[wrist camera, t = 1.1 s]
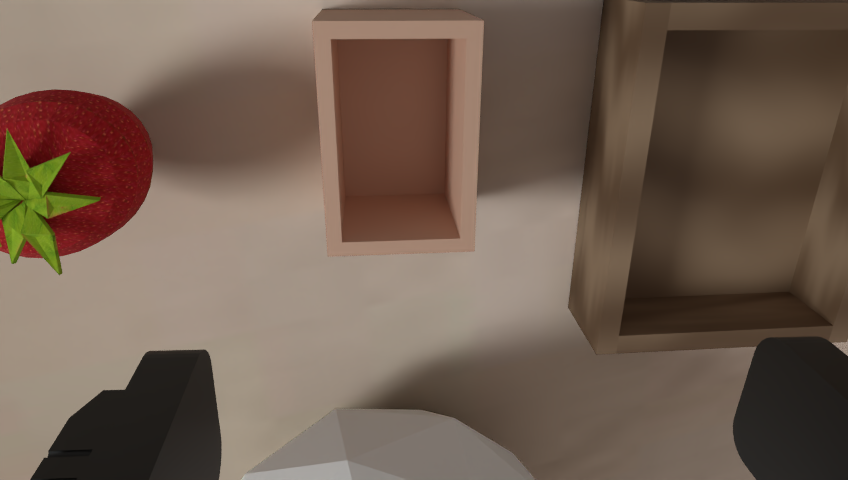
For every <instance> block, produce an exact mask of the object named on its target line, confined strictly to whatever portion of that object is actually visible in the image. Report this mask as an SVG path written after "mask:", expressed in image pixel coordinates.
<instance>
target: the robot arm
mask: <svg viewBox="0 0 848 480" xmlns="http://www.w3.org/2000/svg"><path fill="white" fill-rule="evenodd" d="M733 435H734V441H735V445H736V448H737V451H738V453H739V456H740V457H741V459H742V461H743V462H744V464H745V465H746V467H747V468H748V469H749V471H750V472H751V473H752V475H753V476H754V477H755V478H756V480H848V356H847V355H846V354H844V353H843V352H842V351H841V350H839V349H838V348H837V347H836V346H835V345H833V344H832V343H831V342H830V341H828V340H827V339H825V338H822V337H818V336H808V337H769V338H766V339H764V340H762V341H761V342H760V343H759V344H758V346H757V348H756V350H755V352H754V356H753V359H752V362H751V365H750V368H749V372H748V375H747V378H746V381H745V385H744V388H743V391H742V394H741V398H740V401H739V404H738V407H737V411H736V414H735V417H734V422H733ZM48 452H49V454H48V458H44V459H43V460H42V462H41V464H40V465H39V467H38V468H37V470H36V472H35V473H34V475H33V476H32V478H31V479H30V480H219V474H220V466H221V433H220V426H219V418H218V410H217V403H216V395H215V387H214V380H213V372H212V365H211V359H210V356H209V353H208V352H207V351H206V350H172V351H148V352H147V353H146V354H145V355H144V356H143V358H142V360H141V362H140V363H139V365H138V367H137V369H136V371H135V373H134V374H133V376H132V378H131V380H130V382H129V384H128V386H127V387H126V389H125V390H103V391H102V392H101V393H99V394H98V395H97V396H96V397H95V398H93V399H92V400H91V401H90V402H88V403H87V404H86V405H85V406H84V407H82V408H81V409H80V410H79V411H77V412H76V413H75V414H74V415H72V416H71V417H70V418H69V419H68V421H67V422H66V424H65V426H64V427H63V429H62V430H61V432H60V434H59V435H58V437H57V438H56V440H55V441H54V443H53V445H52V446H51V448H50V449H49V451H48Z"/></svg>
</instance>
